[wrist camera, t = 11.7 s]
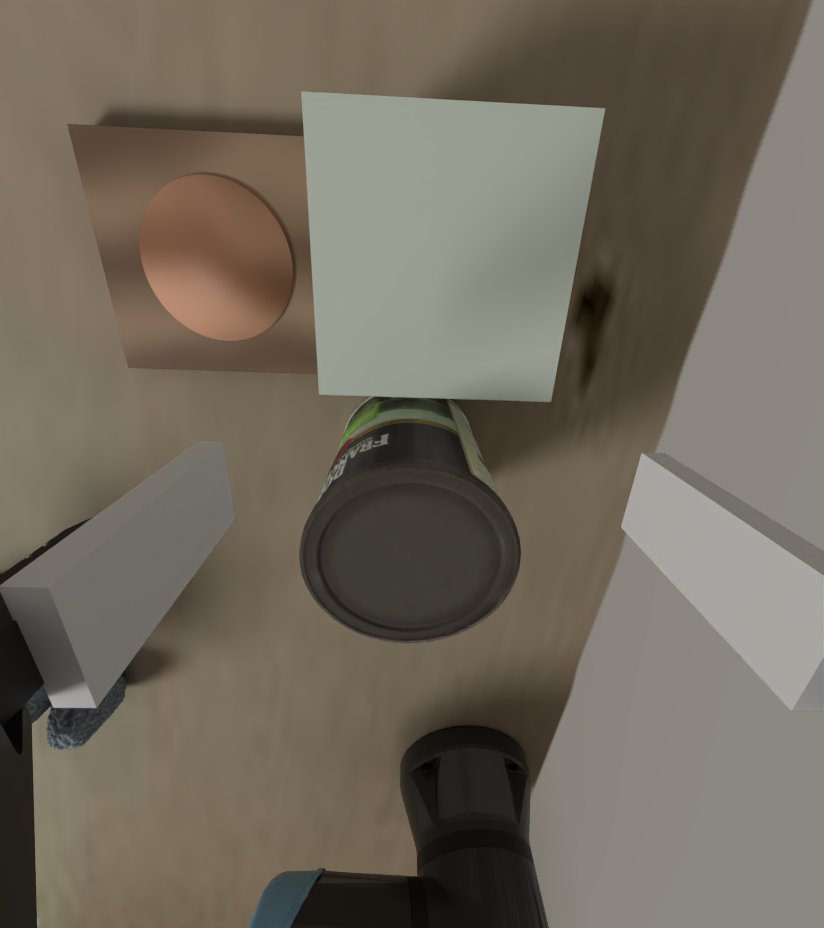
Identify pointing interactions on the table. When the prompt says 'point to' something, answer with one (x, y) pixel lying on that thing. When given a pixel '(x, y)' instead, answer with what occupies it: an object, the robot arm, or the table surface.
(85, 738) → the koala plush
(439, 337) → the pale green block
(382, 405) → the coffee can
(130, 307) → the board
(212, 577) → the table surface
